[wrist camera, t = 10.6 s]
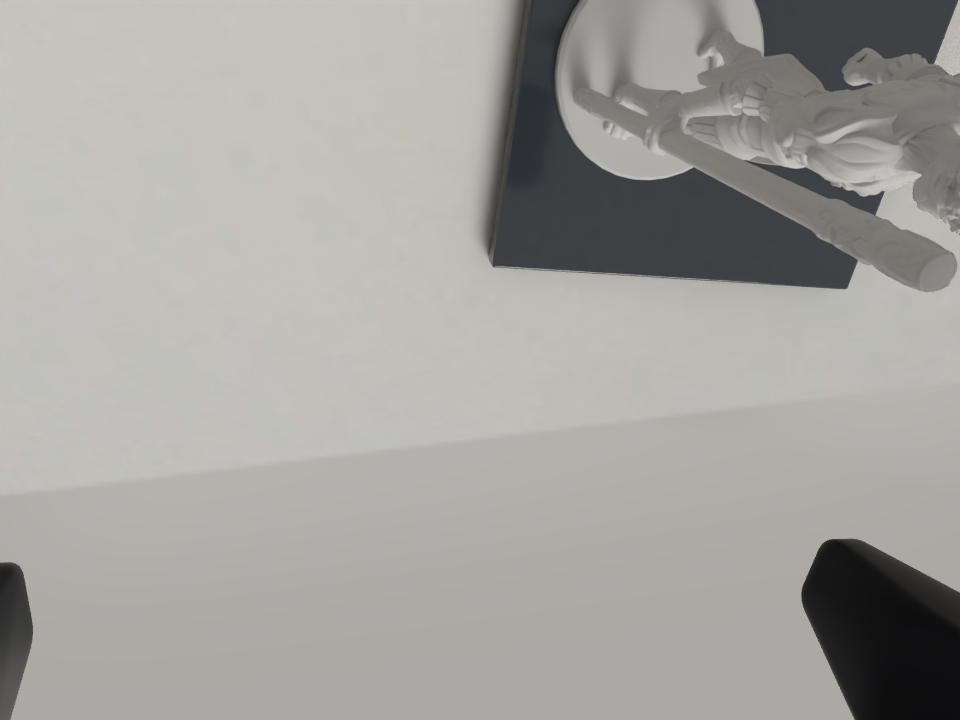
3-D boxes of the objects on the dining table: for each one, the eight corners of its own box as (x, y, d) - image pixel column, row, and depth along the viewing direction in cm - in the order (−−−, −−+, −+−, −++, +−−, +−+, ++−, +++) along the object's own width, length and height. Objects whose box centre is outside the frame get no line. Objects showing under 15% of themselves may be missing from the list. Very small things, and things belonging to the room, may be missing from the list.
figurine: (566, 197, 19) (862, 479, 8) (541, -29, 16) (922, -34, 6) (757, 154, 19) (1268, 371, 9) (762, -74, 16) (1500, -156, 6)
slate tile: (835, 282, 22) (847, 290, 22) (488, 260, 20) (491, 268, 19) (997, -147, 17) (1018, -150, 17) (559, -245, 15) (568, -254, 14)
